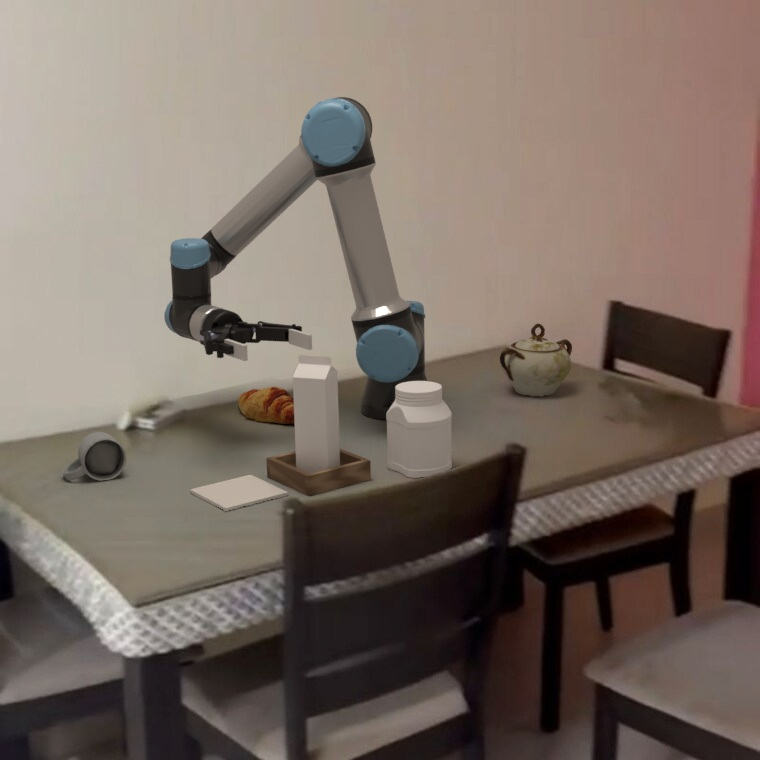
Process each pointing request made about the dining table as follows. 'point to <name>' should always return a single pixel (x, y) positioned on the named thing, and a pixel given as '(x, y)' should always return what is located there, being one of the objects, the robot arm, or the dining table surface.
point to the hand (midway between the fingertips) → (278, 347)
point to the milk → (316, 414)
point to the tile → (238, 492)
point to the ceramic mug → (97, 458)
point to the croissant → (268, 405)
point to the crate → (318, 473)
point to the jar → (419, 430)
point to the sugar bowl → (536, 364)
